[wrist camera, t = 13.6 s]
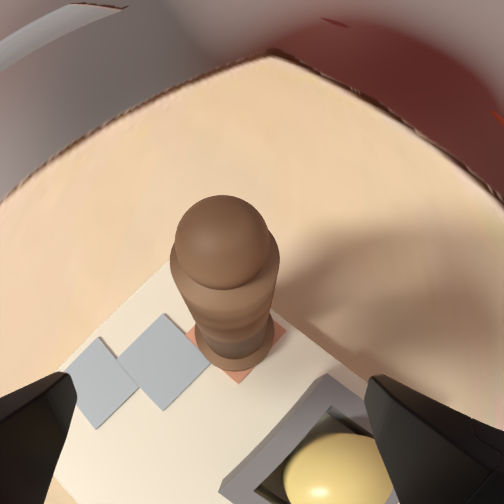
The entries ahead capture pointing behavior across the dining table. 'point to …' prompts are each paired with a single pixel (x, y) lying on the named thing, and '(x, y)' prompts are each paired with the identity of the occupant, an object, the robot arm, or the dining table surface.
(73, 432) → the game board
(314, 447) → the dome
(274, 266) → the pawn
